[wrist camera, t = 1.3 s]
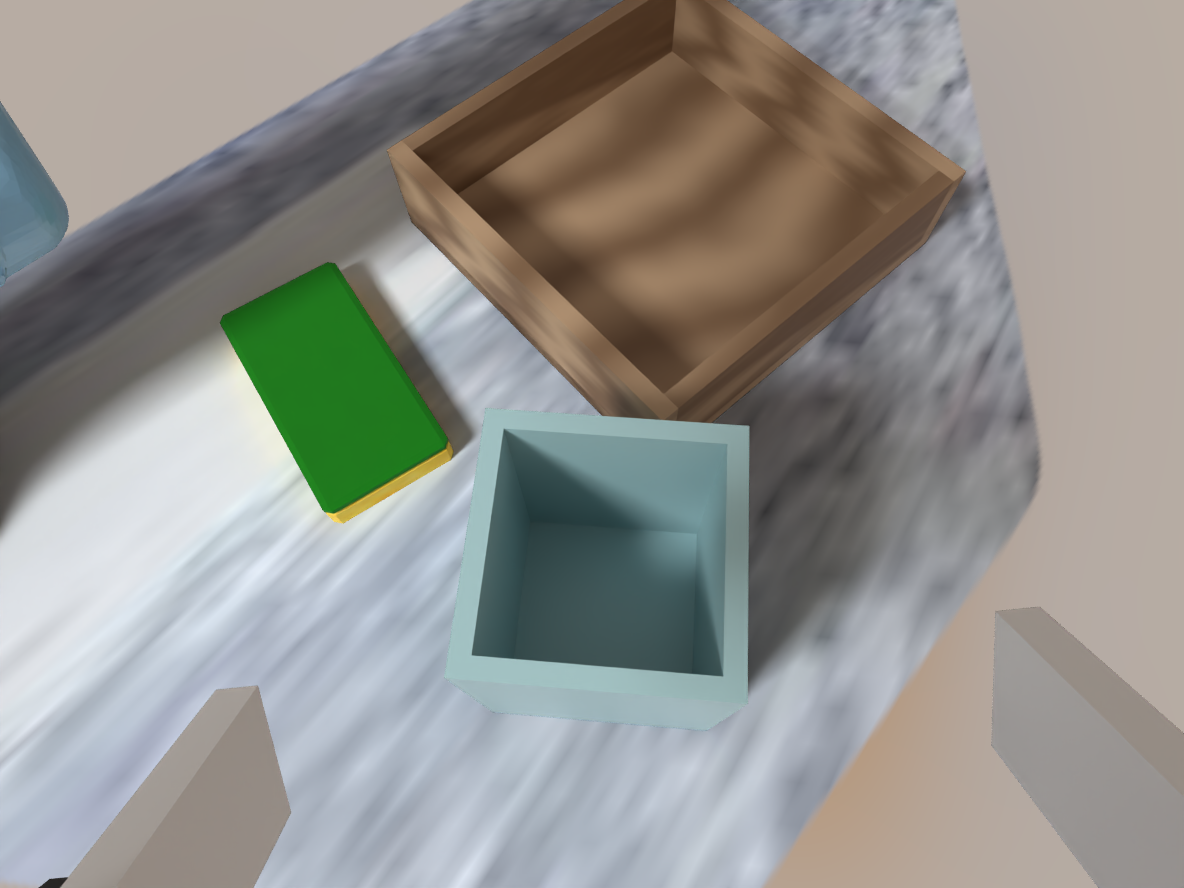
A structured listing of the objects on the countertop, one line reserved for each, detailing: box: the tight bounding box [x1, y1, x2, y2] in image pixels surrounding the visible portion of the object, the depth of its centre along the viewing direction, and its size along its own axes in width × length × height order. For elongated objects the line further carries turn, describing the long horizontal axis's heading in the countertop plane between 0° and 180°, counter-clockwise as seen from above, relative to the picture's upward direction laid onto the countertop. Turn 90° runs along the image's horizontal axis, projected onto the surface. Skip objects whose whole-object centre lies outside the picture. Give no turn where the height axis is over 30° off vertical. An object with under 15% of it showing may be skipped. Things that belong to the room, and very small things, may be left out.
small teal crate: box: [444, 408, 749, 731], centre depth 34 cm, size 10×10×12 cm
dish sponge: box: [220, 262, 454, 523], centre depth 44 cm, size 7×14×2 cm, turn 33°
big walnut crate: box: [387, 0, 966, 423], centre depth 46 cm, size 22×22×6 cm
